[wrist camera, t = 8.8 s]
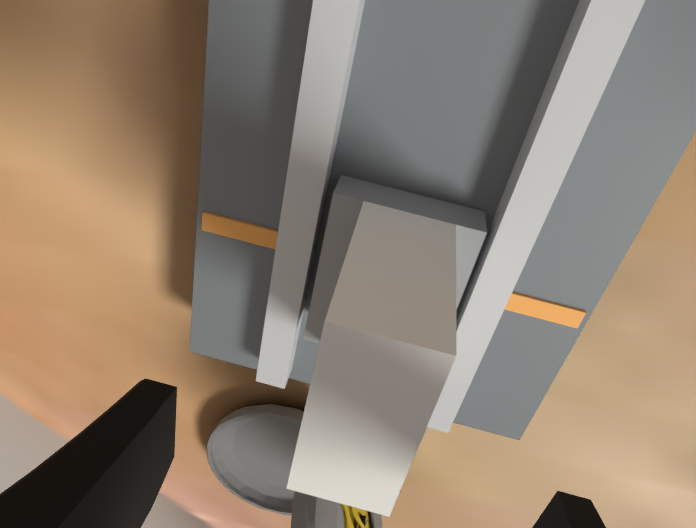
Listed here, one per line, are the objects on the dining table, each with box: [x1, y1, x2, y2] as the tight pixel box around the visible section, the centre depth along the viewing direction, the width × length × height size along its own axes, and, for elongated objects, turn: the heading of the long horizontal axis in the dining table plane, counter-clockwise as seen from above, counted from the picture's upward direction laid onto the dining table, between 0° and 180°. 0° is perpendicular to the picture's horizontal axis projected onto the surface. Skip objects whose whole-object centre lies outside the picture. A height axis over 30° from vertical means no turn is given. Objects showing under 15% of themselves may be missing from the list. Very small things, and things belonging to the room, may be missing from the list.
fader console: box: [190, 0, 696, 440], centre depth 14 cm, size 12×23×3 cm, turn 168°
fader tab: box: [286, 175, 487, 517], centre depth 14 cm, size 4×5×6 cm
